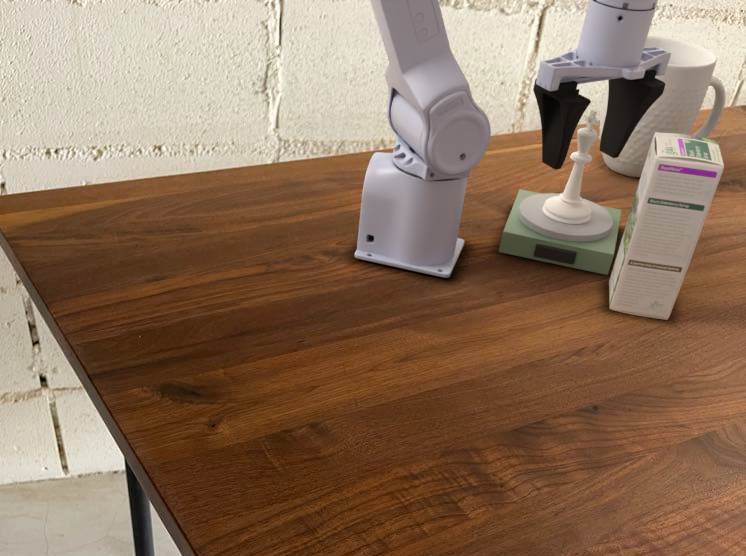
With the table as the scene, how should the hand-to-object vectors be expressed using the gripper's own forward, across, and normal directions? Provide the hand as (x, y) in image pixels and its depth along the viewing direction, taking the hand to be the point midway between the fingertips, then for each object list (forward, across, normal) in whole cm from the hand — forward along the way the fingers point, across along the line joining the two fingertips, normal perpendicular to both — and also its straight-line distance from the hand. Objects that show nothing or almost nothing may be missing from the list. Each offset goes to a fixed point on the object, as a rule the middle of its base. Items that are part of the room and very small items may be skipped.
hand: (580, 159), depth 86 cm
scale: (+8, 0, 0) cm, 8 cm away
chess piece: (+6, 0, 0) cm, 6 cm away
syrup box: (+8, -1, -13) cm, 15 cm away
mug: (+8, +23, +11) cm, 27 cm away
